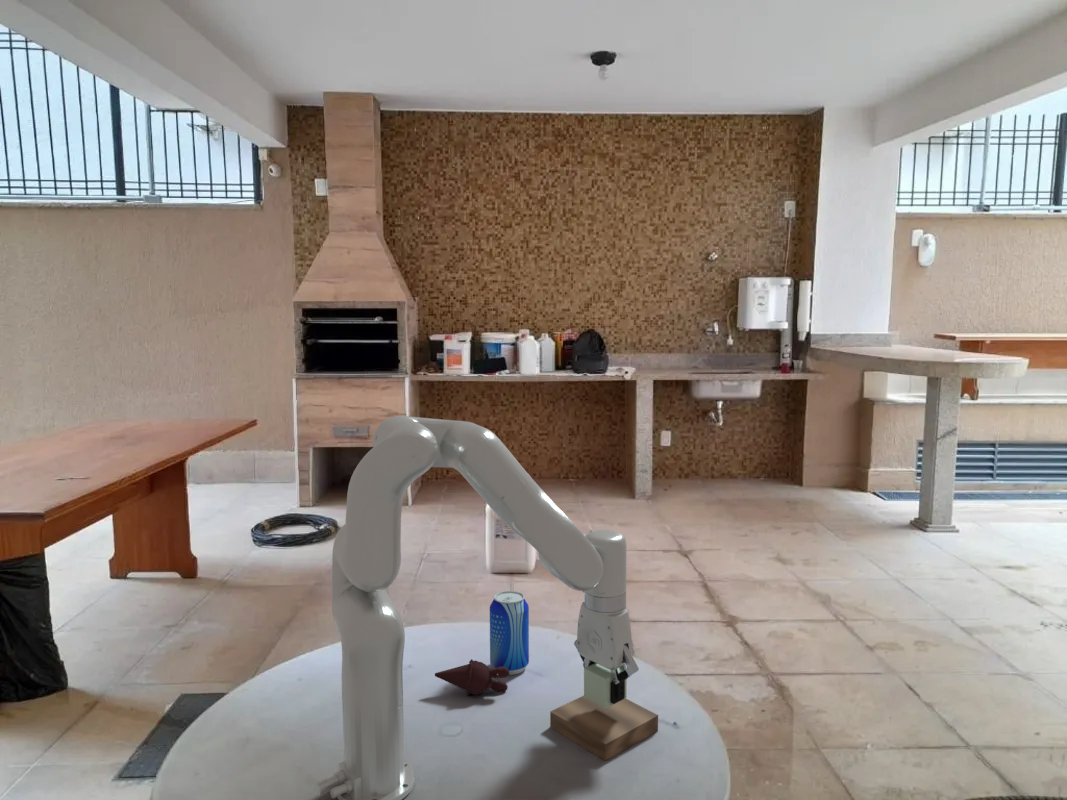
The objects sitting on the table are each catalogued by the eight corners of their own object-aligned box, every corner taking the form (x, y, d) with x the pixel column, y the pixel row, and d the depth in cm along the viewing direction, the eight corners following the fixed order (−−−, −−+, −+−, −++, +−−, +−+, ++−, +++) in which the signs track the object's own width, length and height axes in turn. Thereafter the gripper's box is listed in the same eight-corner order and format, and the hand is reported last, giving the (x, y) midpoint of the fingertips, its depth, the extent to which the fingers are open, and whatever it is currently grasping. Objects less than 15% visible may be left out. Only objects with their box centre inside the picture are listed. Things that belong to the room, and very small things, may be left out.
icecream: (432, 673, 143) (509, 679, 144) (437, 648, 150) (510, 654, 151) (431, 701, 146) (506, 707, 146) (436, 675, 153) (508, 680, 153)
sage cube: (605, 708, 131) (605, 679, 130) (584, 696, 135) (583, 668, 135) (626, 697, 135) (626, 669, 134) (604, 686, 139) (604, 658, 138)
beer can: (484, 663, 161) (483, 593, 160) (519, 655, 165) (519, 587, 163) (498, 680, 154) (498, 606, 152) (535, 671, 157) (535, 600, 155)
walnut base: (605, 760, 126) (605, 744, 125) (550, 726, 136) (550, 711, 136) (657, 730, 135) (658, 715, 134) (602, 700, 145) (602, 686, 145)
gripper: (557, 591, 137) (558, 684, 139) (626, 620, 124) (626, 721, 126) (586, 582, 142) (586, 671, 144) (655, 608, 129) (654, 705, 131)
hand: (605, 693), depth 135 cm, fingers closed on sage cube, 5 cm apart
